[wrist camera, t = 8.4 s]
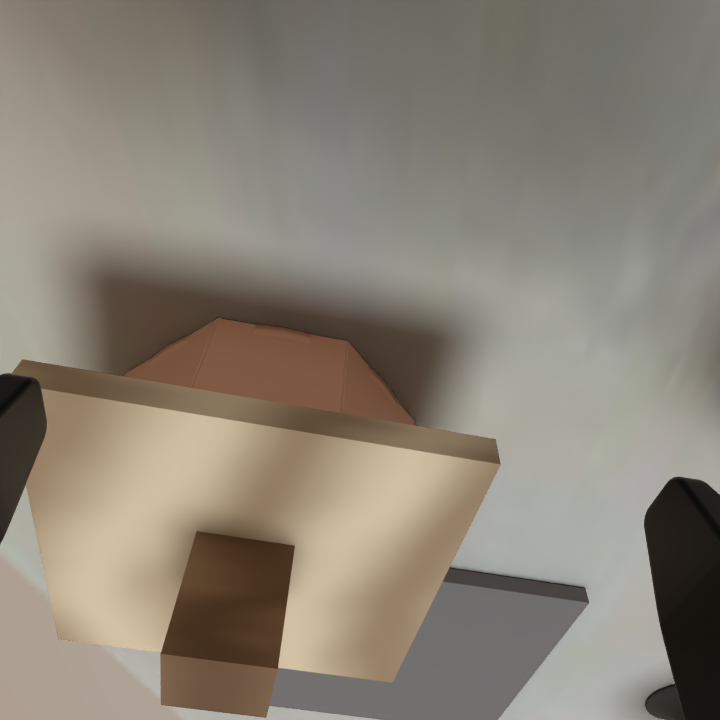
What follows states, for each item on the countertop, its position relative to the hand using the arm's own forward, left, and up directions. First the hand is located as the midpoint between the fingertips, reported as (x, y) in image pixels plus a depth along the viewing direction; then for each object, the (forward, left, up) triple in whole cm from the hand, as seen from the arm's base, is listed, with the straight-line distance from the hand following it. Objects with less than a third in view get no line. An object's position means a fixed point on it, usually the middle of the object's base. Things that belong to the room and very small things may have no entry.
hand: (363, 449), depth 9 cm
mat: (-7, +28, -12) cm, 31 cm away
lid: (+2, +13, -7) cm, 15 cm away
